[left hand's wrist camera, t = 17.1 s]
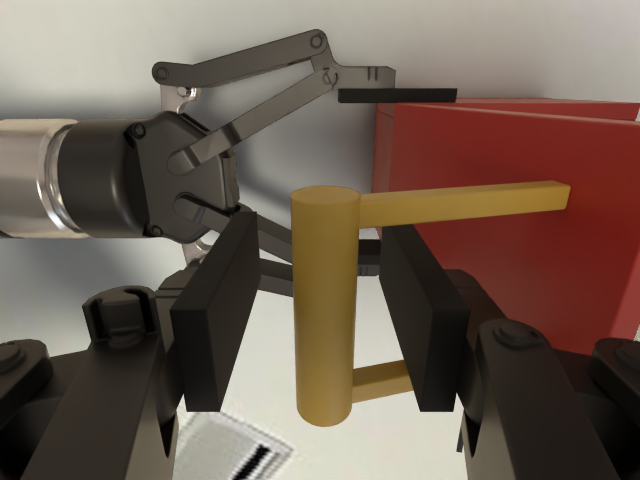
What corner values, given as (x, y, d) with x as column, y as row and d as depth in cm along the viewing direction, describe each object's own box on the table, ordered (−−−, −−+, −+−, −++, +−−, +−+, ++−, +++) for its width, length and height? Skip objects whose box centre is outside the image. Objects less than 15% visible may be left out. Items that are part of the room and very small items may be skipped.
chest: (545, 98, 29) (641, 102, 20) (521, 215, 32) (594, 262, 24) (376, 98, 29) (400, 102, 20) (370, 215, 33) (388, 262, 24)
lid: (714, 127, 8) (318, 141, 6) (593, 451, 11) (318, 531, 9) (410, 103, 20) (245, 105, 18) (396, 265, 23) (257, 282, 21)
